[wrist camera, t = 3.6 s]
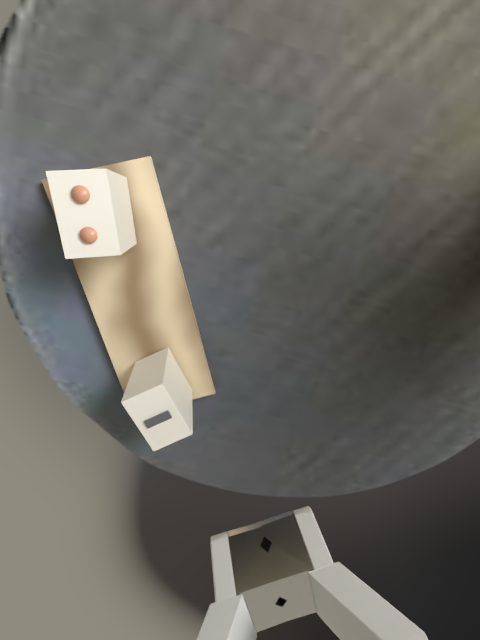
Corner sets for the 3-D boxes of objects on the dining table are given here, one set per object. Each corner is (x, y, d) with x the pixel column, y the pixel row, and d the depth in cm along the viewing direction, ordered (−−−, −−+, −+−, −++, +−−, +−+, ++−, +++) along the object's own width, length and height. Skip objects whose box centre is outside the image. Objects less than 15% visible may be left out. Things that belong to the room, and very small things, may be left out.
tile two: (126, 177, 31) (105, 168, 23) (136, 243, 33) (120, 255, 25) (78, 179, 30) (40, 171, 23) (91, 246, 32) (60, 259, 25)
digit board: (151, 157, 32) (150, 156, 31) (215, 389, 41) (215, 393, 40) (45, 180, 31) (41, 179, 30) (133, 410, 40) (132, 415, 39)
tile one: (168, 347, 37) (162, 384, 29) (192, 389, 39) (192, 435, 31) (133, 363, 37) (117, 404, 29) (159, 404, 39) (150, 453, 31)
